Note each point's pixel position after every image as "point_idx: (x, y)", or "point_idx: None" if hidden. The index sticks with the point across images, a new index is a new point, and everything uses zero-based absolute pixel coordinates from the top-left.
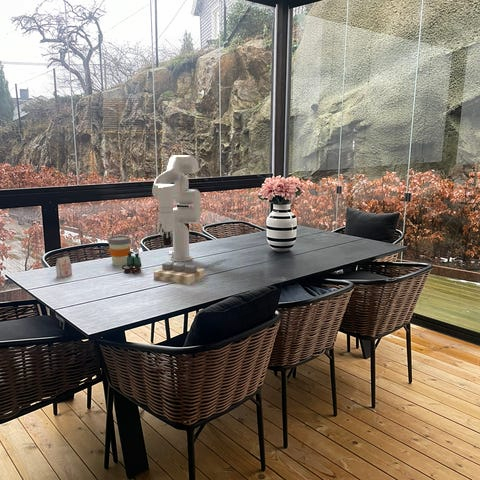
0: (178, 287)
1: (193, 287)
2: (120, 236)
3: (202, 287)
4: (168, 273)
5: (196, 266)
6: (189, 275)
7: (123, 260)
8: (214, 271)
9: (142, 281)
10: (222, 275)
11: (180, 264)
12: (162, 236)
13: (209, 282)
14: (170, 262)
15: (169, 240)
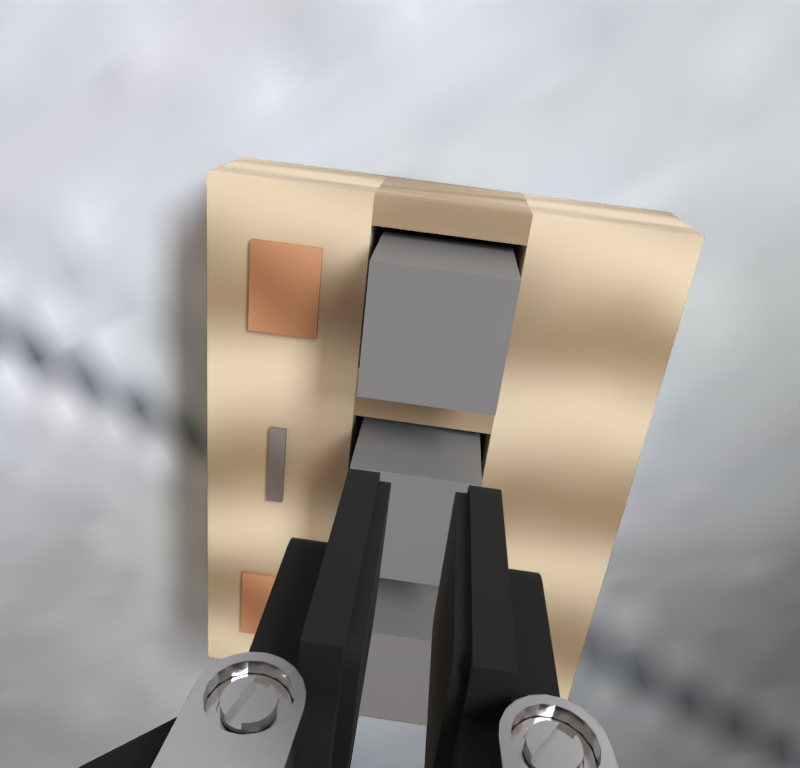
0: (103, 541)
1: (168, 651)
2: None
3: None
4: (222, 412)
5: (426, 718)
6: (249, 648)
7: None
8: (766, 675)
9: (93, 43)
10: (622, 763)
11: (430, 538)
12: (187, 701)
13: (362, 722)
14: (505, 356)
15: (432, 707)
